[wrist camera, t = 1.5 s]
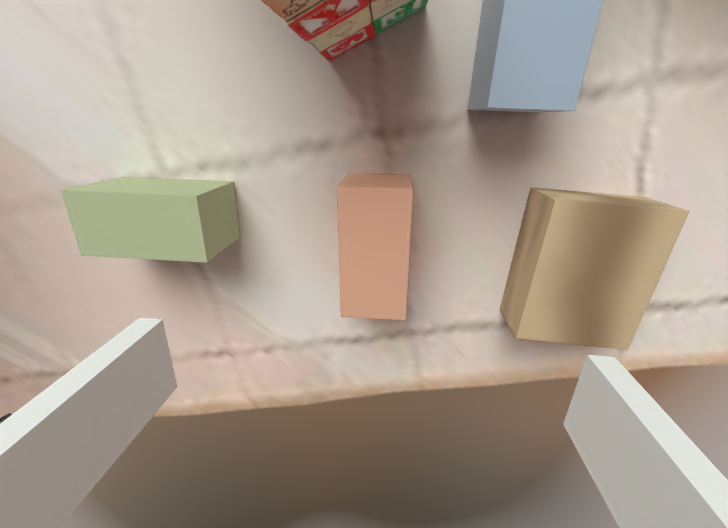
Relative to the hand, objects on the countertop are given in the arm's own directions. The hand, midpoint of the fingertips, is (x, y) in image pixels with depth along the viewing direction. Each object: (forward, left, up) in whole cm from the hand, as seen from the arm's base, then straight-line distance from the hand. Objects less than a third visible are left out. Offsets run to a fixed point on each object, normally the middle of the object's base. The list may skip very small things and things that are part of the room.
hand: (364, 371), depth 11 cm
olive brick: (-14, +1, -15) cm, 20 cm away
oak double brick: (+13, -1, -15) cm, 19 cm away
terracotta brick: (0, 0, -15) cm, 15 cm away
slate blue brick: (+7, +12, -15) cm, 20 cm away
